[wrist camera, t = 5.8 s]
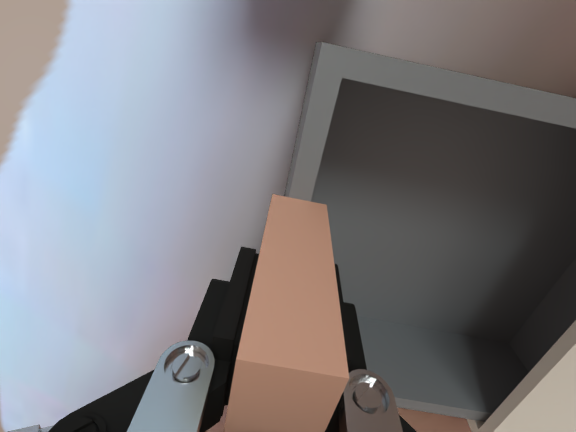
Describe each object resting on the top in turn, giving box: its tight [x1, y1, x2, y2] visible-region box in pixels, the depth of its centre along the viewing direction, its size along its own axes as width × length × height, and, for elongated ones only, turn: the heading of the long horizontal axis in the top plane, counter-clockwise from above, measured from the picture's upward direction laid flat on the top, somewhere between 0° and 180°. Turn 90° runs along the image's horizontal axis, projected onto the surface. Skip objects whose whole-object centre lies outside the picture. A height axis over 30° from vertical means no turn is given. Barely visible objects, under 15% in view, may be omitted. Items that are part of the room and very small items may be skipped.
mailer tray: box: [224, 42, 576, 432], centre depth 13 cm, size 16×19×13 cm
